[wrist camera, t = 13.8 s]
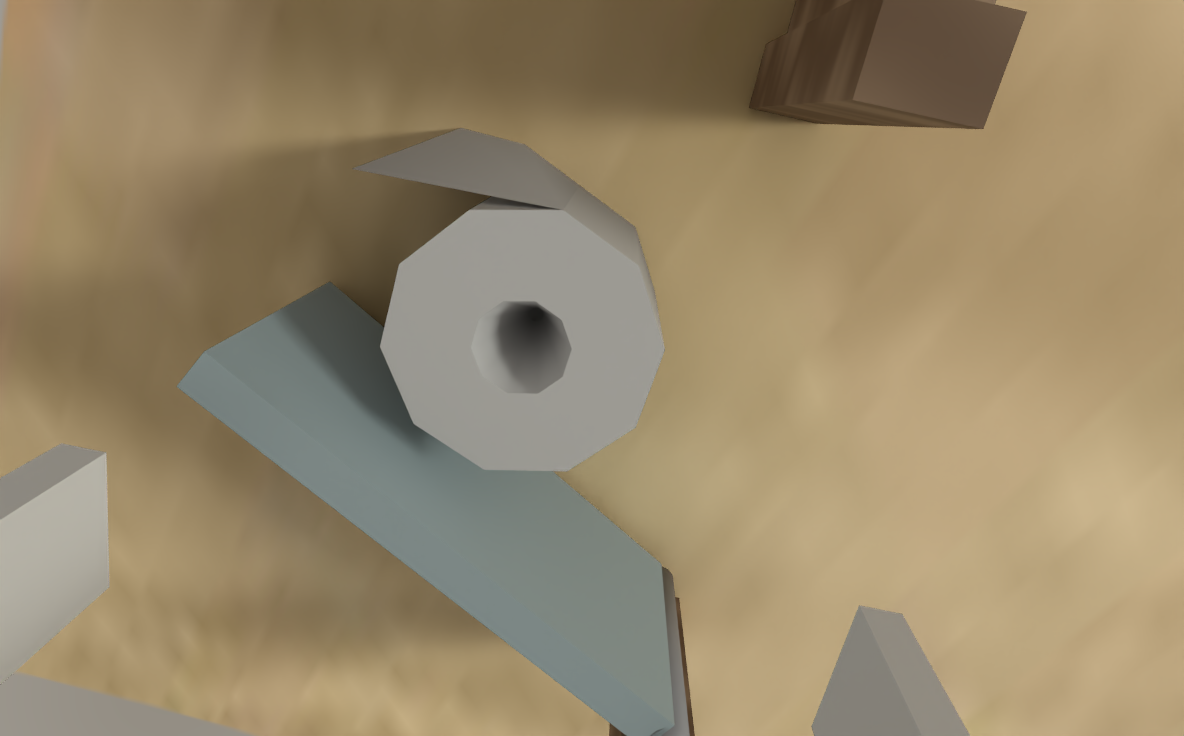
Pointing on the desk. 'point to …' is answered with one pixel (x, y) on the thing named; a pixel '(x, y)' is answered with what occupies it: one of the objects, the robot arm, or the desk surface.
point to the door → (454, 510)
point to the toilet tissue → (520, 311)
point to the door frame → (884, 77)
